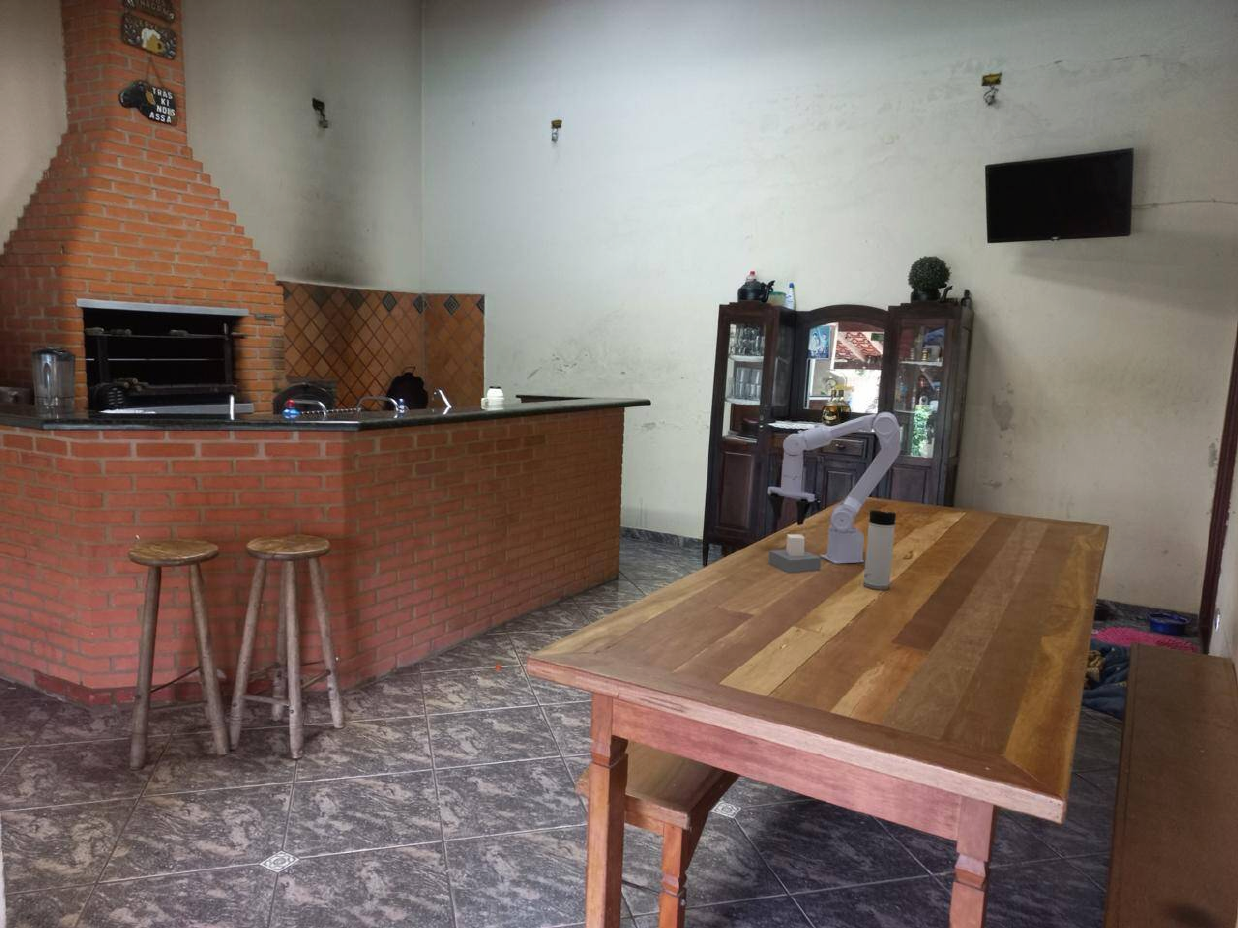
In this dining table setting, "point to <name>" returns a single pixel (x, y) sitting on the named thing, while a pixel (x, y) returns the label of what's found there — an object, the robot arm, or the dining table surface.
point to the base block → (794, 561)
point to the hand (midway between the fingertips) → (788, 521)
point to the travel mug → (879, 550)
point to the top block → (795, 545)
